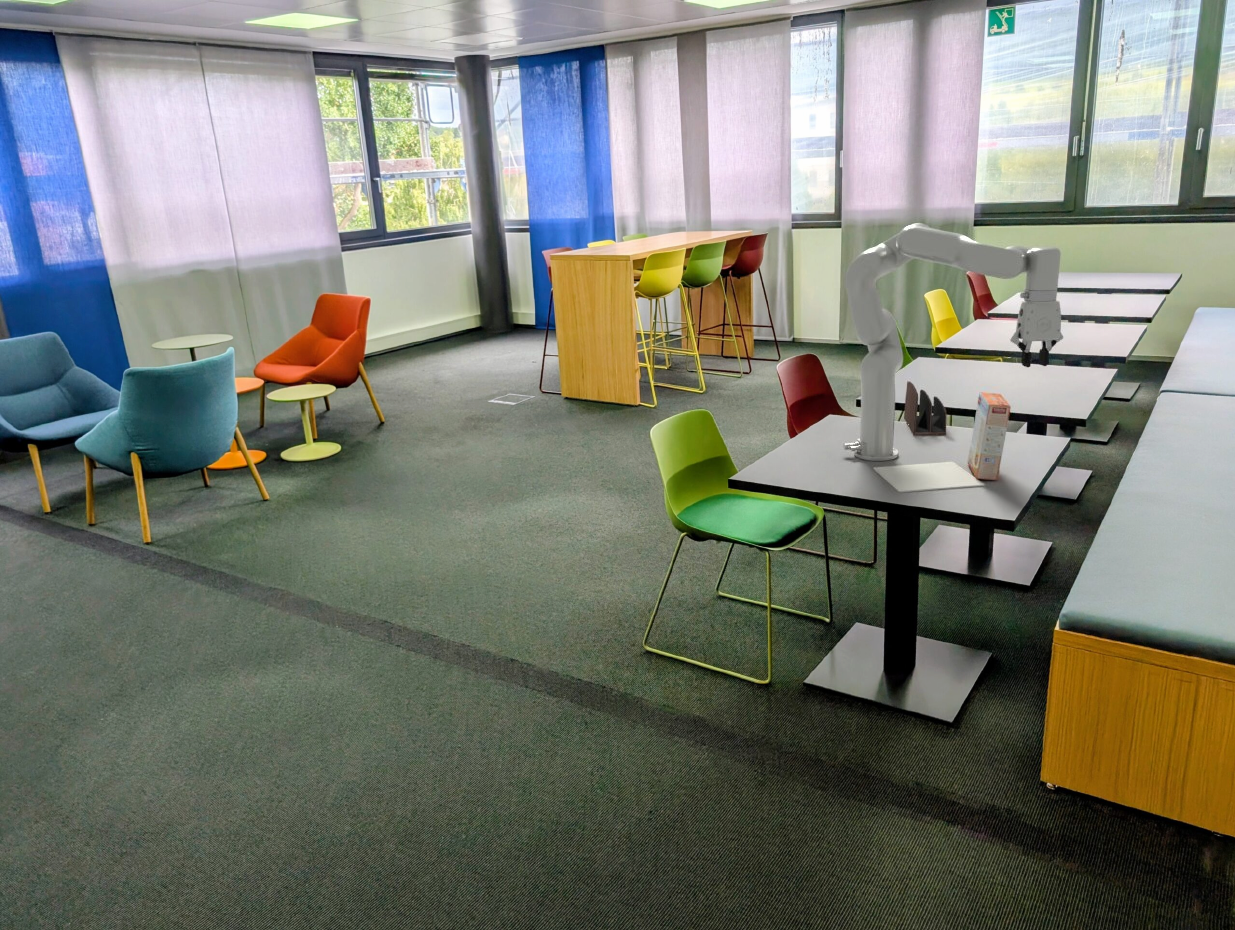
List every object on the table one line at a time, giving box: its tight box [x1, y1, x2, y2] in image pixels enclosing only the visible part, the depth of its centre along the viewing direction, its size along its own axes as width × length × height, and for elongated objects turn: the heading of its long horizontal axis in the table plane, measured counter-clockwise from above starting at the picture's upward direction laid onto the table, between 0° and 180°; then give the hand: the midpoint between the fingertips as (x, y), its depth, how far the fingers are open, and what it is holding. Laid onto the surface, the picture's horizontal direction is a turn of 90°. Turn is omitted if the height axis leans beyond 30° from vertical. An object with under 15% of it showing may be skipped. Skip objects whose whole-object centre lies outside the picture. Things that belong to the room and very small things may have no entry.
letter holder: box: [903, 381, 948, 436], centre depth 292 cm, size 10×20×14 cm, turn 172°
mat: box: [873, 461, 986, 493], centre depth 249 cm, size 23×20×1 cm
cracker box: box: [967, 392, 1012, 482], centre depth 246 cm, size 14×6×21 cm, turn 168°
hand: (1034, 365), depth 241 cm, fingers open, 3 cm apart
